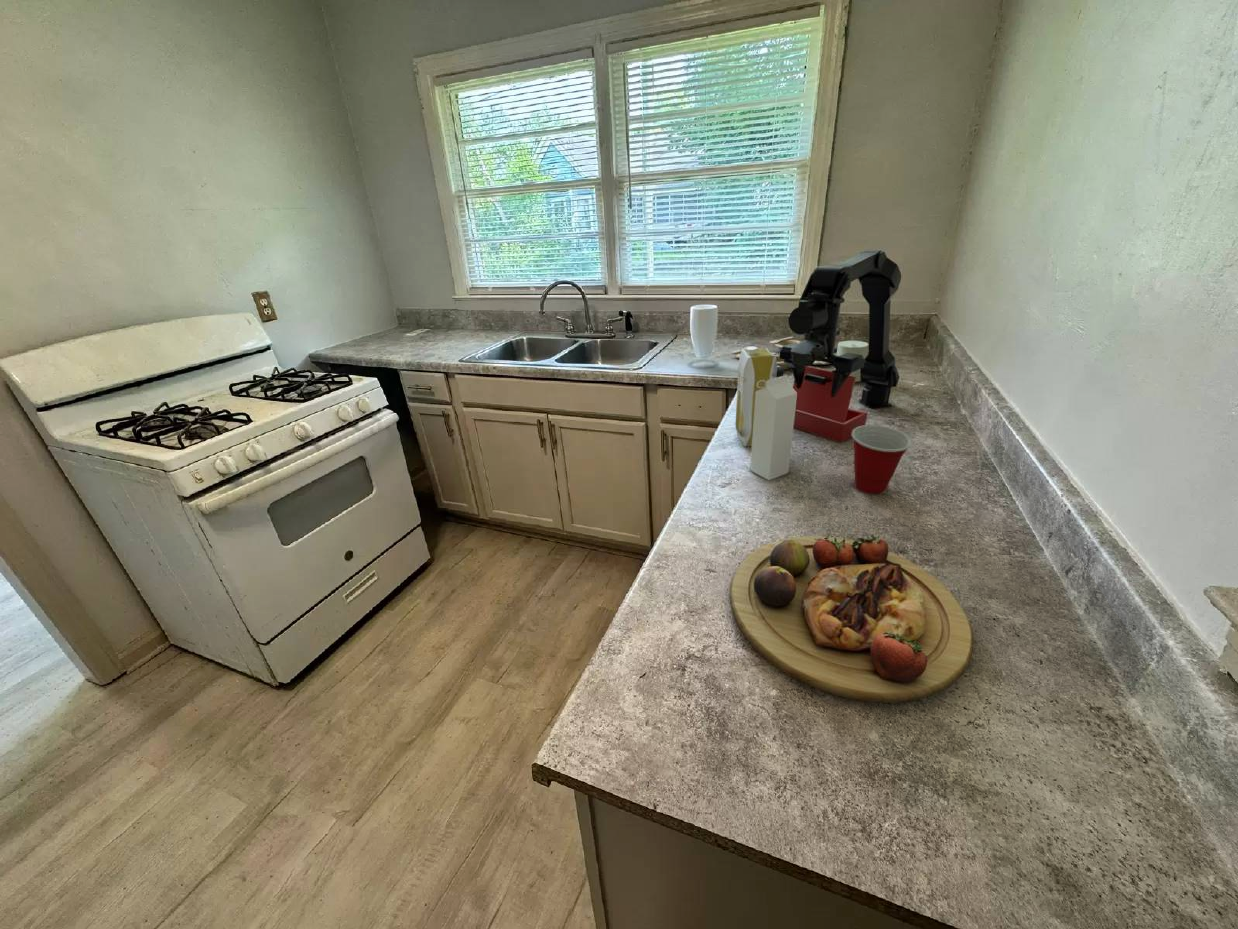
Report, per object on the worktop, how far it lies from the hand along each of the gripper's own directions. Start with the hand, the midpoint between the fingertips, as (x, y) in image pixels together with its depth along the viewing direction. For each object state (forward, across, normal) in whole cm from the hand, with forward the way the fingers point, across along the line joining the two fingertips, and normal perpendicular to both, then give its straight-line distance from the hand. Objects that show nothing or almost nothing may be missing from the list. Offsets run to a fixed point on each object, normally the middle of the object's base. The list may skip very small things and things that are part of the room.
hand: (815, 392), depth 118 cm
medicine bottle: (+13, -22, +13) cm, 29 cm away
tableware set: (+13, -51, +58) cm, 78 cm away
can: (+13, -21, +52) cm, 58 cm away
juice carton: (+13, -10, -9) cm, 19 cm away
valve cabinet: (+13, -2, +10) cm, 17 cm away
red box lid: (+2, -2, +6) cm, 7 cm away
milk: (+13, +3, -20) cm, 24 cm away
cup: (+13, -69, +32) cm, 77 cm away
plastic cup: (+13, +22, -10) cm, 28 cm away
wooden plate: (+13, +38, -47) cm, 62 cm away
